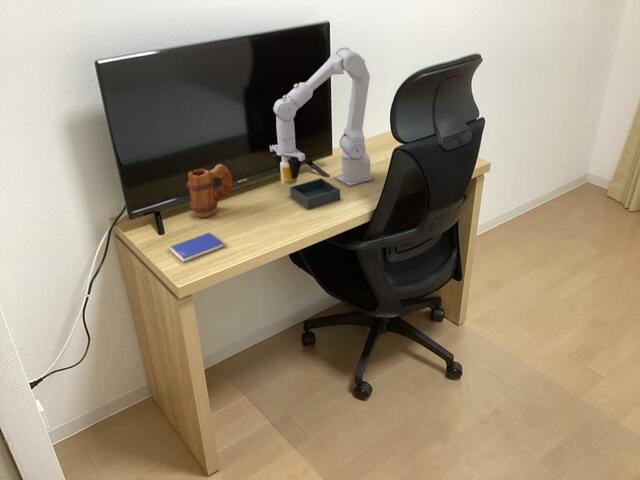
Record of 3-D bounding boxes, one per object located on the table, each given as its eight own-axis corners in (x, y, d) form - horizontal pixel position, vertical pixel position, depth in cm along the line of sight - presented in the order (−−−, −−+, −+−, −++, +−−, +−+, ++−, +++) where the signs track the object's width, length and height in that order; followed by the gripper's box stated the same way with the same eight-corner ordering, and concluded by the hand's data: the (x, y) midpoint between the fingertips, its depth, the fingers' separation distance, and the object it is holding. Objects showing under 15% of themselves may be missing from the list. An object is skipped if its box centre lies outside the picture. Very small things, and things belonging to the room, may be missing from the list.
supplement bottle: (278, 182, 195) (276, 155, 190) (290, 177, 198) (289, 151, 193) (287, 187, 191) (285, 160, 186) (300, 182, 194) (298, 155, 189)
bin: (321, 188, 196) (321, 178, 194) (340, 199, 188) (340, 189, 186) (290, 197, 191) (290, 187, 189) (308, 209, 182) (307, 199, 181)
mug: (194, 222, 177) (187, 177, 170) (186, 212, 184) (179, 168, 176) (239, 211, 183) (234, 167, 175) (230, 201, 189) (225, 158, 182)
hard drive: (183, 257, 156) (222, 242, 163) (169, 245, 162) (208, 231, 169) (183, 262, 157) (223, 247, 164) (170, 250, 163) (209, 236, 169)
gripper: (261, 135, 188) (265, 174, 195) (293, 145, 180) (295, 185, 187) (277, 129, 193) (280, 167, 200) (308, 139, 184) (310, 178, 191)
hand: (288, 175), depth 193 cm, fingers closed on supplement bottle, 5 cm apart
